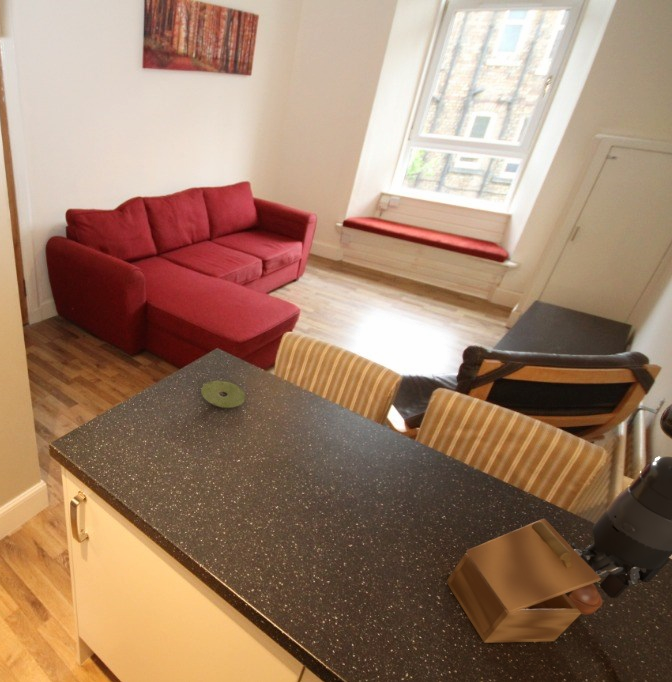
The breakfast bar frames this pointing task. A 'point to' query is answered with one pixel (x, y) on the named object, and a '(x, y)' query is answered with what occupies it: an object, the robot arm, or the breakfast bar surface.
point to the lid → (531, 566)
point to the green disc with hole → (223, 394)
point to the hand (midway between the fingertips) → (581, 592)
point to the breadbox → (494, 617)
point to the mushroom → (586, 599)
